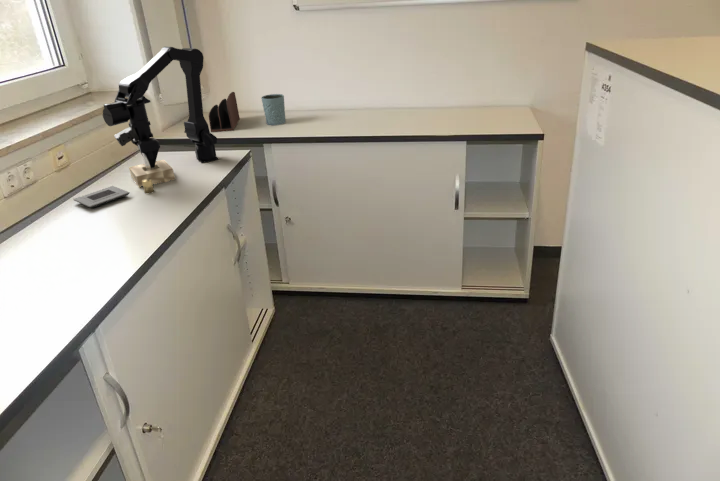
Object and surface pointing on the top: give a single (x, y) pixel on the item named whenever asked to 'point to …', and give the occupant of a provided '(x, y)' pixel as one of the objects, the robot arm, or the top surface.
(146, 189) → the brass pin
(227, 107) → the letter holder
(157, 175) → the hole block
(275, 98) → the teal embossed pot
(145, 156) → the steel pin
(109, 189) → the grey rectangular tray
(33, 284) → the top surface
